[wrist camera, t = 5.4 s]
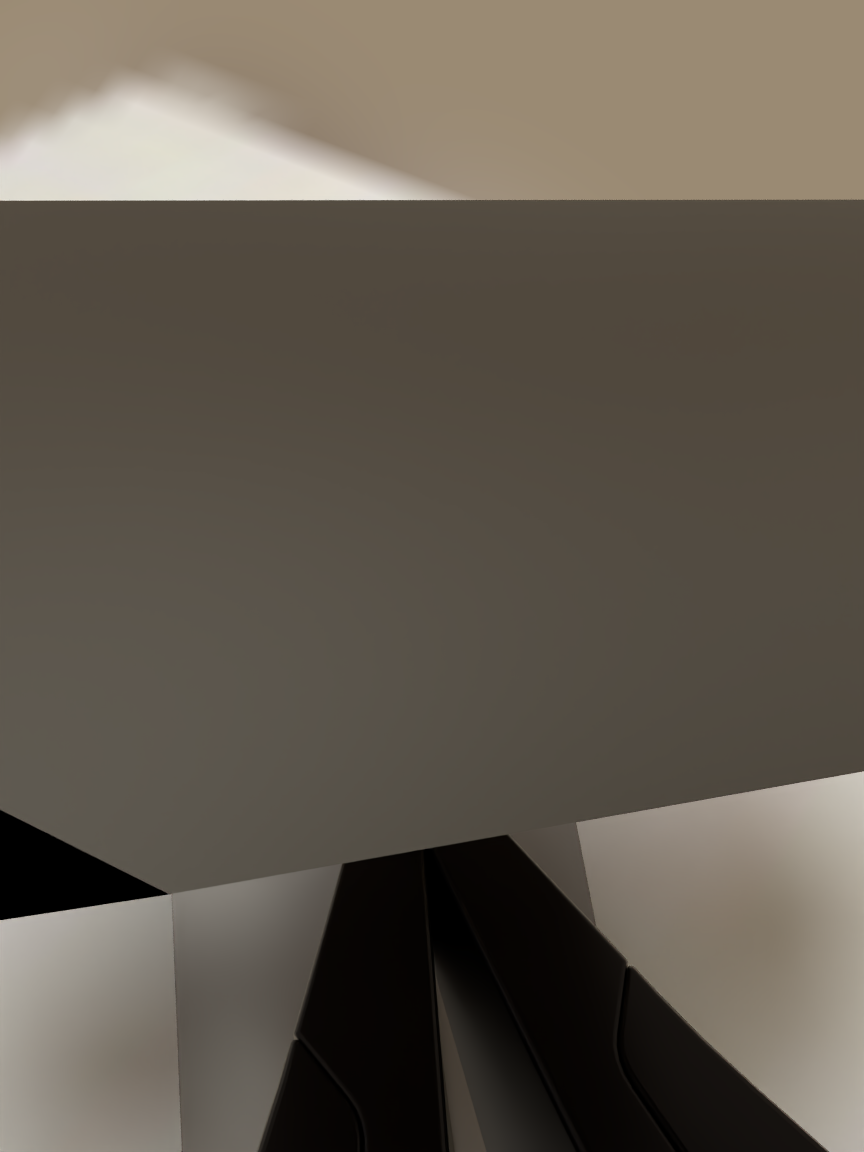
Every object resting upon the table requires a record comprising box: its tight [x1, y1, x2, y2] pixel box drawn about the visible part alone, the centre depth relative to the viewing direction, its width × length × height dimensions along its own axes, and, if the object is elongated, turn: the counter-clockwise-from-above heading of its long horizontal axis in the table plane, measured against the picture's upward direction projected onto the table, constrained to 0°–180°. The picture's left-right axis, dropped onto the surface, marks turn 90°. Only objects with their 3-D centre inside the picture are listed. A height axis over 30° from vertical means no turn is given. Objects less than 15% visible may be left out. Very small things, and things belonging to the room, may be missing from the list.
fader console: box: [172, 822, 596, 1152], centre depth 14 cm, size 18×8×2 cm, turn 8°
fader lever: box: [0, 200, 864, 920], centre depth 8 cm, size 3×5×12 cm, turn 98°
